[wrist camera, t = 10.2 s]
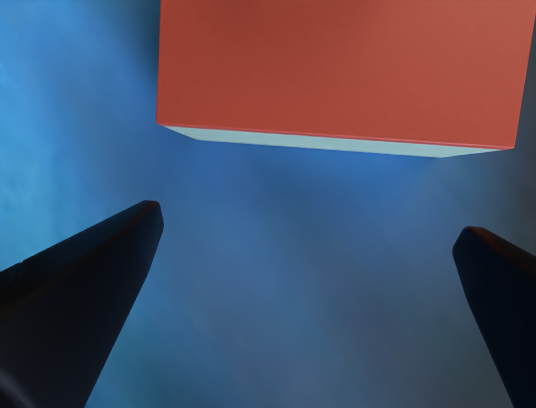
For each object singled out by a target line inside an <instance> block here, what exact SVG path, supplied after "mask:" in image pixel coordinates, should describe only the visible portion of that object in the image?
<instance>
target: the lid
mask: <svg viewBox="0 0 536 408" xmlns="http://www.w3.org/2000/svg"><path fill="white" fill-rule="evenodd" d="M535 14H536V0H161V6H160V32H159V58H158V84H157V110H156V123H157V124H159V125H162V126H170V127H184V128H198V129H212V130H227V131H241V132H255V133H269V134H284V135H298V136H312V137H326V138H340V139H355V140H369V141H383V142H397V143H412V144H426V145H440V146H454V147H468V148H483V149H497V150H505V149H512V148H514V146H515V140H516V133H517V127H518V121H519V115H520V108H521V102H522V96H523V89H524V83H525V77H526V71H527V64H528V58H529V52H530V45H531V39H532V33H533V27H534V20H535Z"/></svg>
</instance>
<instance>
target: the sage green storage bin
mask: <svg viewBox="0 0 536 408" xmlns="http://www.w3.org/2000/svg"><path fill="white" fill-rule="evenodd" d="M164 127H166V128H169V129H171V130H174V131H176V132H178V133H181V134H183V135H186V136H188V137H191V138H193V139H196V140H205V141H218V142H232V143H246V144H260V145H274V146H287V147H301V148H315V149H329V150H343V151H356V152H370V153H384V154H398V155H412V156H425V157H447V156H456V155H464V154H472V153H481V152H489V151H498V150H497V149H483V148H468V147H454V146H440V145H426V144H412V143H397V142H383V141H369V140H355V139H340V138H326V137H312V136H298V135H284V134H269V133H255V132H241V131H227V130H212V129H198V128H184V127H170V126H164Z"/></svg>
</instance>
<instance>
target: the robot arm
mask: <svg viewBox="0 0 536 408" xmlns="http://www.w3.org/2000/svg"><path fill="white" fill-rule="evenodd" d="M163 228H164V223H163V217H162V212H161V207H160V204H159V203H158V202H157V201H149V200H144V201H142V202H140V203H138V204H136V205H134V206H132V207H130V208H128V209H126V210H124V211H122V212H119V213H117V214H115V215H113V216H111V217H109V218H107V219H105V220H103V221H101V222H99V223H97V224H95V225H93V226H91V227H89V228H87V229H85V230H83V231H81V232H79V233H77V234H75V235H73V236H71V237H69V238H67V239H65V240H63V241H61V242H59V243H57V244H55V245H53V246H51V247H49V248H47V249H45V250H43V251H41V252H39V253H37V254H35V255H33V256H31V257H29V258H27V259H25V260H23V262H22V263H17V264H15V265H13V266H11V267H9V268H7V269H5V270H3V271H1V272H0V408H84V406H85V404H86V402H87V400H88V398H89V396H90V394H91V392H92V390H93V388H94V385H95V383H96V381H97V379H98V377H99V375H100V373H101V371H102V369H103V367H104V365H105V363H106V360H107V358H108V356H109V354H110V352H111V350H112V348H113V346H114V344H115V342H116V340H117V338H118V335H119V333H120V331H121V329H122V327H123V325H124V323H125V321H126V319H127V317H128V315H129V313H130V310H131V308H132V306H133V304H134V302H135V300H136V298H137V296H138V294H139V292H140V290H141V288H142V285H143V283H144V281H145V279H146V277H147V275H148V272H149V270H150V267H151V264H152V261H153V258H154V255H155V252H156V250H157V247H158V244H159V241H160V238H161V235H162V232H163ZM452 253H453V258H454V261H455V264H456V267H457V270H458V274H459V277H460V280H461V283H462V286H463V289H464V293H465V296H466V298H467V301H468V304H469V306H470V309H471V311H472V313H473V316H474V318H475V320H476V322H477V325H478V327H479V329H480V331H481V334H482V336H483V338H484V341H485V343H486V345H487V347H488V350H489V352H490V354H491V356H492V359H493V361H494V363H495V366H496V368H497V370H498V372H499V375H500V377H501V379H502V381H503V384H504V386H505V388H506V391H507V393H508V395H509V397H510V400H511V402H512V404H513V406H514V408H536V256H534V255H532V254H530V253H528V252H526V251H525V250H523V249H521V248H519V247H517V246H516V245H514V244H512V243H510V242H508V241H506V240H505V239H503V238H501V237H499V236H497V235H496V234H494V233H492V232H490V231H488V230H486V229H485V228H482V227H473V226H467V227H465V228H464V229H463V230H462V232H461V234H460V235H459V237H458V239H457V241H456V243H455V244H454V246H453V250H452Z"/></svg>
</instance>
